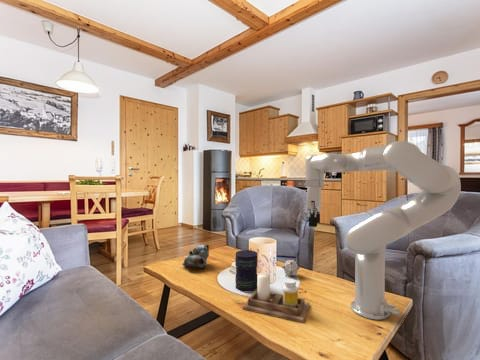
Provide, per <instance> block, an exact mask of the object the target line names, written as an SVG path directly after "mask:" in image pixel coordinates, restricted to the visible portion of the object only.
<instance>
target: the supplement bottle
mask: <svg viewBox="0 0 480 360" xmlns="http://www.w3.org/2000/svg"><path fill="white" fill-rule="evenodd" d="M298 293H299V292H298V287H297V281H296V279H292V278H285V279H284V285H283V287H282V295H283V306H287V307H292V308H297V307H298V298H299V296H298V295H299V294H298Z"/></svg>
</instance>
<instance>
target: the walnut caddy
mask: <svg viewBox="0 0 480 360" xmlns="http://www.w3.org/2000/svg"><path fill="white" fill-rule="evenodd" d="M241 308H242V310H244V311H250V312H253V313H257V314H258V313H259V314H263V315H266V316H271V317H275V318H279V319H280V318H281V319H285V320H289V321H292V322H297V323H301V324H303V323H304V321H305V319H306V316H307V313H308V310H309V308H310V302H309V301H305V298H302V297H298V307H297V308H292V307H287V306H283V293H282V294H281V293H277V292H276V293H275V292H271V291H270V303H268V302H263V301H258V300H257V289H256V290H254V291H253V293H252V295H251V296H250V297H248V299H247V300H246V302H245V303H244V304H243V305H242V307H241Z"/></svg>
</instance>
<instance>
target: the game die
mask: <svg viewBox="0 0 480 360" xmlns="http://www.w3.org/2000/svg"><path fill="white" fill-rule="evenodd" d="M296 261H297V258H295V259H294V260H292V259H287V258H285V263H284V265H283V266H282V267H281V268H282V269H283V270H284V273H285V277H287V276H291V277H292V276H295V278H297V273H298V270H300V269H301V267H300V266H298V263H297V262H296Z"/></svg>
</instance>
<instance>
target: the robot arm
mask: <svg viewBox="0 0 480 360" xmlns="http://www.w3.org/2000/svg"><path fill="white" fill-rule="evenodd" d="M387 170H388V171H390V170H394V171H395V172H396V173H397V174H399V175H400V176H402V177H403V178H404V179H405V180H407V181H408V182H410V183H411V184H412V185H414V186H415V187H417V188H418V189H420V190H421V192H420V193H418V194H416V195H414V196H413V197H411V198H409V199H408V200H406V201H405V202H403V203H401V204H399V205H397V206H395V207H391V208H387V209H383V210H381V211H379V212H377V213H375V214H373V215H372V216H369V217H368V218H366V219H364V220H363V221H361V222H360V223H358V224H355V225H354V226H352V227H351V228H349V229H348V230H347V232H346V234H345V236H344V242H345V246H346V248H347V249H348V250H349V251H350V252H351V253H353V254H354V255H355V258H354V259H355V260H354V261H355V264H354V267H355V269H354V284H355V285H354V288H355V289H354V300H352V301H351V302H350V309H351V310H352V312H354V313H355V314H356V315H359V316H361V317H363V318H366V319H369V320H377V321H378V320H386V319H388V318H389V317H390V314H391V315H395V316H400V309H398V308H397V306H396V305H391V304H389V303H388V300H387V299H386V298H385V297H386V296H385V294H386V293H385V286H386V285H385V281H386V280H385V279H386V278H385V277H386V276H385V275H386V273H385V270H386V251H387V245H390V244H392V243H394V242H395V241H398V240H400V239H402V238H403V237H406V236H407V235H408V234H410V233H411V232H413V231H414V230H416V229H418V228H420V227H421V226H424V225H426V224H427V223H429V222H432V221H433V220H435V219H437V218H439V217H440V216H442V215H444V214H445V213H447V212H448V211H450V210H451V209H452V208H453V206H455V204H456V203H457V201H458V199H459V198H460V194H461V190H462V189H461V188H462V187H461V186H462V185H461V178H460V175H459V174H458V172H457V171H456V170H455V169H454V168H453V167H451V166H449V165H446V164H442V163H440V162H438V161H437V160H435V159H434V158H432V157H430V156H428V155H427V154H425V153H424V152H422V151H421V149H420V148H419V146H417V144H414V143H412V142H408V141H406V140H397V141H393V142H391V143H388V144H387V145H379V146H377V145H376V146H369V147H366V148H364V149H363V150H362V151H359V152H354V153H353V152H352V153H342V154H339V153H330V152H326V153H325V152H324V153H322V154H310V155H306V157H305V189H306V188H307V189H306V190H307V191H306V209H305V211H307V212H308V227H312V228H316V227H317V226H318V224H320V223H321V214H320V210H321V208H322V189H324V188H325V174H324V173H350V172H373V171H376V172H377V171H387Z"/></svg>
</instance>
